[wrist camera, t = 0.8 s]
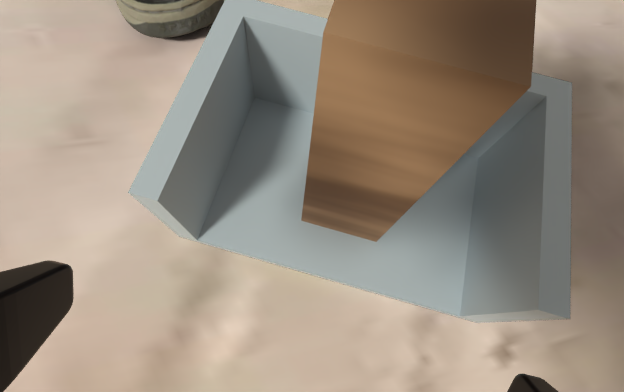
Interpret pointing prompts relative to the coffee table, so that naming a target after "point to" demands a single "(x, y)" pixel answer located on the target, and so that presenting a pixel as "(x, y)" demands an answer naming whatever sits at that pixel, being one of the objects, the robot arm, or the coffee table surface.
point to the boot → (169, 15)
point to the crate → (409, 228)
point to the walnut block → (407, 101)
